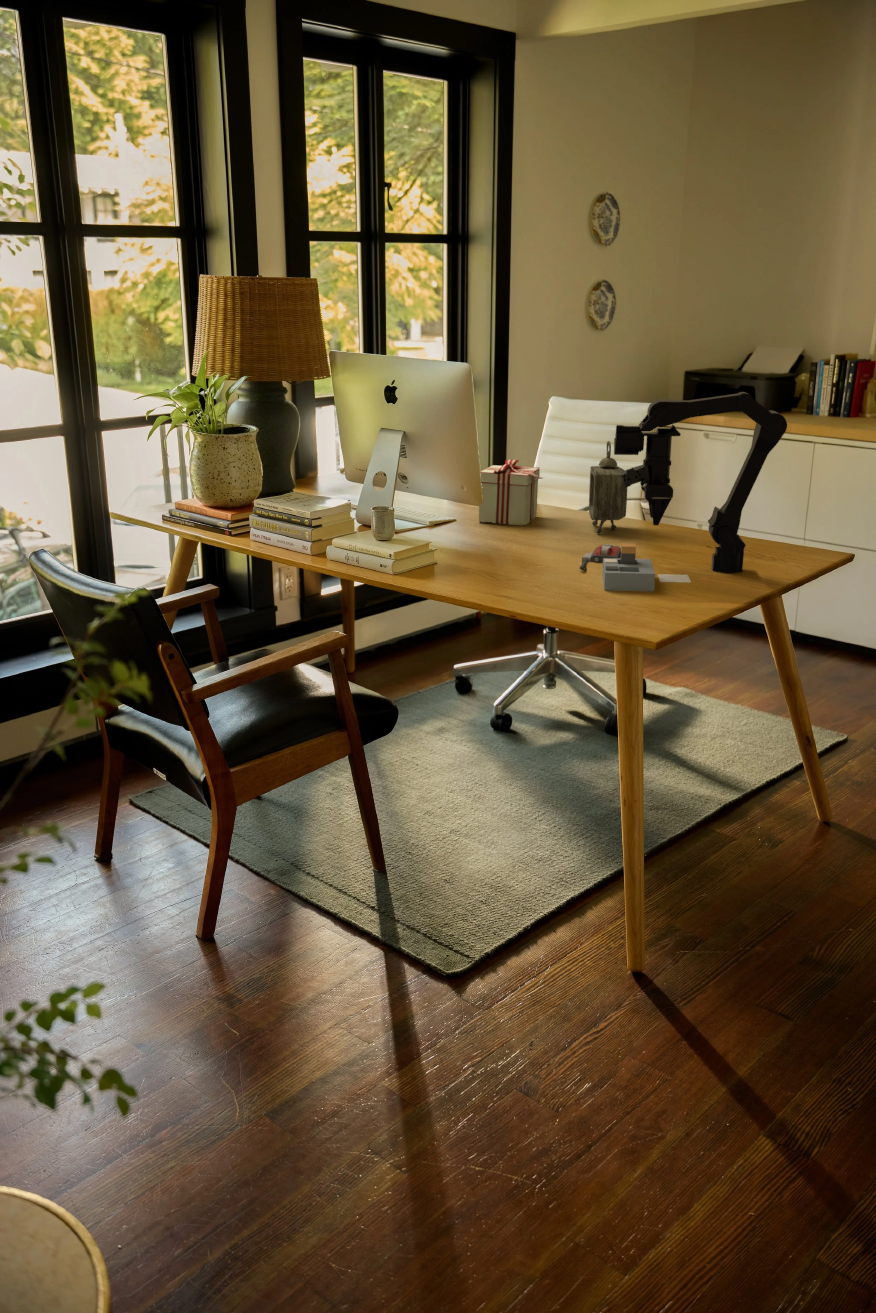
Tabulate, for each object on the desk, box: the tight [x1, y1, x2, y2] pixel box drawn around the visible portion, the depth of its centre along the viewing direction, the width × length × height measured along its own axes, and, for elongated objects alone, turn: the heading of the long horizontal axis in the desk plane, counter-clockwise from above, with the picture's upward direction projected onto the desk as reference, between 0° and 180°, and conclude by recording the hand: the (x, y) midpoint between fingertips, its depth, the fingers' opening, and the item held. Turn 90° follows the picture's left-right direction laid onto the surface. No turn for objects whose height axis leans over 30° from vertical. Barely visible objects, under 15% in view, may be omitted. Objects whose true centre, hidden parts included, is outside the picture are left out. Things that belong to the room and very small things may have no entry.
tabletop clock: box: [588, 440, 628, 535], centre depth 303 cm, size 14×9×25 cm, turn 178°
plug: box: [619, 542, 637, 564], centre depth 250 cm, size 3×3×8 cm
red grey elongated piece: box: [578, 543, 621, 571], centre depth 269 cm, size 9×4×20 cm
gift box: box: [478, 459, 543, 526], centre depth 320 cm, size 17×18×17 cm
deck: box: [657, 573, 692, 584], centre depth 252 cm, size 7×7×1 cm
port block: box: [601, 557, 656, 592], centre depth 248 cm, size 11×14×5 cm
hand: (654, 521), depth 257 cm, fingers open, 9 cm apart
